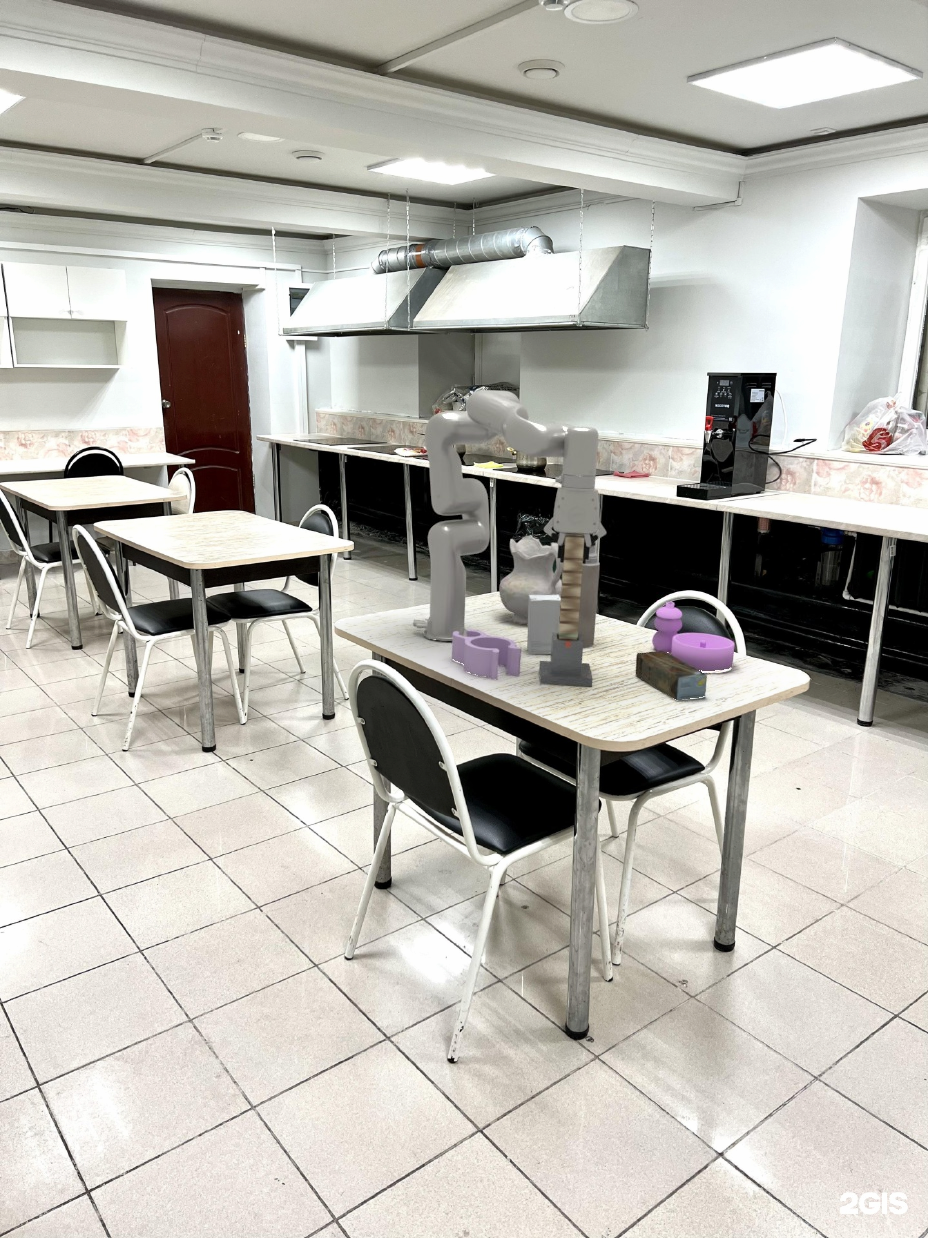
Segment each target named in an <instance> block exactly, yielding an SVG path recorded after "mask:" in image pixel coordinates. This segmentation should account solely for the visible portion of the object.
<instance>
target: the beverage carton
mask: <svg viewBox="0 0 928 1238" xmlns="http://www.w3.org/2000/svg"><path fill="white" fill-rule="evenodd" d="M635 659H636V660H635V676H636V677H638V678H639V679H640V680H642V681H644V682H645V683H647V684H649V685H650V686H652V687H653V688H654V689H656V688H657V689H656V690H657V691H658V690H659V692H661V691H662V693H663V694H665V695H666V694H667V695H666V696H668V697H669V698H672V699H673V698H674V699H673V700H675V699H676V700H682V699H690V698H699V697H703V696H705V697H706V692H707V680H708V675H707V674H706V673H702V672H701V671H699V670H697V669H695V668H694V667H692V666H690V665H689V664H687V663H685V662H683V661H682V660H680V659H678V658H676V657H674V656H673V655H671V653H667V652H665V651H657V650H656V651H647V652H637V654H636V658H635ZM676 700H675V701H676ZM682 701H683V700H682Z"/></svg>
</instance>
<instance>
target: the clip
mask: <svg viewBox="0 0 928 1238" xmlns="http://www.w3.org/2000/svg"><path fill="white" fill-rule="evenodd" d="M465 630H466V637H465V636H461V635H459V632H458V631H455V632H453V641H452V642H451V643H452V644H451V645H452V646H451V660H452V659H454V660H455V661H458V662H460V663H463V664H464V665H463V670H464V669H465V670H466V671H467V672H470V673H471V674H470V675H472V674H476V675H478V676H477V677H480V676H486V677H485V678H490V677H491V678H490V679H491V680H492V679H496V680H495V681H498V677H499V666H502V667H506V673H505V674H506V675H509V676H512V677H513V676H514V677H520V675H521V659H522V658H521V657H522V647H519V646H517V642H516V641H514V640H513V639H511V638H508V637H503V636H495V635H491V634H490V635H489V634H487V633H486V632H485V631H483V630H476V629H465ZM465 670H464V671H465ZM466 671H465V672H466ZM467 672H466V673H467Z"/></svg>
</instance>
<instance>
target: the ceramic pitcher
mask: <svg viewBox="0 0 928 1238" xmlns="http://www.w3.org/2000/svg"><path fill="white" fill-rule="evenodd" d="M521 537H522V538H521V539H520V540H519V541H518V542H516V541H515V539H513V538H510V541H509V550H510V553H511V555H512V557H513V566H514V567H513V569H512V571H511V572H510V573H509V574H508V575H506V576H505V577H504V578H502V579H501V581H500V584H499V587H498V588H499V596H500V600H501V603H502V605H503V606H504V608H505V609H506V610H508V612H511V613H513V615H512V617H511V621H512V622H514V623H515V624H523V625H528V599H529V595H559V597H560V598H561V587H562V582H561V580H562V579H561V576H562V572H563V571H562V567H563V563H560V558H557V556H558V544H557V542H555V541H554V542H550V545H547V544H546V545H545V544H544V545H543V544H542V543H541V542H540V539H539V538H535V537H533V536H531V535H525V536H521ZM555 561H556V563H555ZM554 563H555V565H556V567H555V571H554V570H553V566H554Z"/></svg>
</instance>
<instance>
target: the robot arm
mask: <svg viewBox="0 0 928 1238" xmlns="http://www.w3.org/2000/svg"><path fill="white" fill-rule="evenodd" d="M499 435H500V436H501V437H503V439H504V441H505V443H506V444H507V445H508V446H509V447H510V448H511V449H513V450H515V451H517V452H519V453H522V454H523V455H526V456H529V457H531V458H539V459H541V458H542V459H543V458H562V469H561V470H562V471H561V472H562V473H561V475H559V476H555V480H554V482H555V483H557V484H559V485H561V486H560V487H558V488H557V492H556V497H555V501H554V508H553V517H551V519H550V520H549V521H548V523H547V524H546V525H545V526H544V527H543V531H544V532H545V533H546V534H547V535H548V536H550V537H551V539H553V540H554V542H555V543H557V544H558V556H557V558H560V563H563V562H564V550H565V545H564V541H565V534H575V535H583V536H584V540H585V542H584V549H583V564H586V560H589V549H590V546H591V545H592V544H593V543H594V542H595V543H596V541H597V540H599V539H601V538H602V537H604V536H606V535H607V530H606V529H605V527H604V526H603V524H602V523H601V521H600V518H599V517H600V498H599V496H600V495H599V490H598V489H596V473H597V464H598V463H597V462H598V460H597V459H598V458H597V457H598V449H599V448H598V447H599V432H598V430H597V428H594V427H589V426H575V425H571V424H565V423H536V422H534V421H533V422H532V421H530V420H529V413H528V410H527V408H526V407H525V406H524V405H522V404H521V401H520V399H519V398H518V396H517V395H516V394H515V393H513V392H511V391H507V390H494V389H492V390H491V389H490V390H489V389H488V390H487V389H483V390H482V389H481V390H478V391H475V392H473V393H472V394H471V395H470V396H468V398H467V400H466V402H465V411H463V410H447V411H442V412H438V413H436V414H434V415H433V416H431V417H430V419H429V420H428V422H427V424H426V426H425V430H424V444H425V449H426V454H427V457H428V459H427V460H428V464H429V466H428V467H429V481H430V482H429V483H430V496H431V506H432V509H433V511H434V512H435V513H436V514H437V515H441V516H458V515H461V517H462V519H452V520H444V521H439V522H437V523H435V524H434V525H433V526H432V527H431V528H430V529H429V531H428V535H427V543H428V550H429V557H430V593H429V594H430V597H429V617H428V618H425V619H424V620H421V619H413V624H412V626H413V627H414V628H415V627H416V629H424V630H423V634H424V635H423V637H424V636H426V637H427V638H426V637H425V638H426V639H428V638H430V639H436V640H441V641H440V642H442V641H453V632H455V631H458V632H459V635H461V636H465V637H466V630H467V629H466V628H465V620H466V619H465V618H466V617H465V615H466V614H465V613H466V589H467V588H466V587H467V571H466V568H465V565H464V563H463V561H462V557H461V556H468V555H474V554H479V553H483V552H484V551H485V550H486V549H487V547H488V546H489V542H490V538H491V537H490V534H491V533H490V530H491V529H490V513H489V511H490V510H489V509H490V508H489V499H488V498H489V496H488V493H487V489H486V488H485V486H484V484H483V483H482V482H481V481H480V480H478V479H475V478H473V477H472V478H468V477H467V478H465V477H463V464H462V461H461V460H462V459H461V458H460V455H459V453H458V451H457V450H456V448H454V446H455V445H458V446H459V445H483V444H486V443H488V442H490V441H492V440H493V439H495V438H496V437H498V436H499ZM552 529H553V530H552ZM557 533H558V534H557ZM430 639H429V640H430Z"/></svg>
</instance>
